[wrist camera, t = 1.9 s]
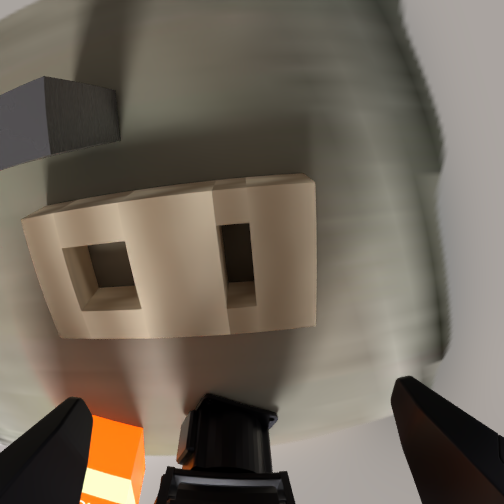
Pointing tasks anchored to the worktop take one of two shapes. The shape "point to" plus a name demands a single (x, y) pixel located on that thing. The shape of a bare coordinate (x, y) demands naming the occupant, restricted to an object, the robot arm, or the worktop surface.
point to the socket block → (181, 259)
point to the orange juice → (114, 464)
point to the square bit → (54, 119)
